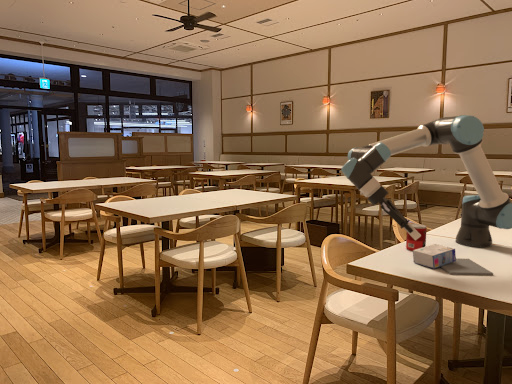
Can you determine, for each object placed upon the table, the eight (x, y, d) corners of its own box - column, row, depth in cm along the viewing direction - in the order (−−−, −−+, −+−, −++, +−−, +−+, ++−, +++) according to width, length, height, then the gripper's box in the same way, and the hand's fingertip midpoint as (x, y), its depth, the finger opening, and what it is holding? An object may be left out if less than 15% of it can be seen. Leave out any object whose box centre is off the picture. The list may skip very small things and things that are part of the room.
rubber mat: (468, 260, 158) (468, 258, 158) (493, 275, 140) (493, 273, 140) (430, 259, 159) (430, 258, 159) (450, 274, 141) (450, 272, 141)
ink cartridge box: (434, 270, 146) (460, 260, 152) (433, 255, 145) (459, 246, 151) (413, 263, 155) (438, 254, 161) (412, 250, 154) (438, 241, 160)
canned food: (427, 252, 170) (428, 227, 168) (407, 251, 171) (408, 226, 170) (423, 248, 177) (424, 224, 176) (404, 247, 179) (405, 223, 177)
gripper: (368, 196, 160) (410, 240, 155) (364, 200, 148) (409, 248, 143) (383, 183, 157) (426, 228, 153) (379, 187, 145) (426, 235, 141)
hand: (418, 237), depth 148 cm, fingers closed
